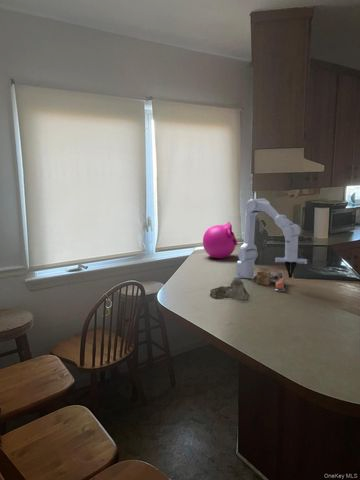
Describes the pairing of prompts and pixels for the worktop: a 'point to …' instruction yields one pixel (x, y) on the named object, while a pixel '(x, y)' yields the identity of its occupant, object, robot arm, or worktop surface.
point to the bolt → (276, 276)
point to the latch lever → (280, 284)
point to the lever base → (279, 290)
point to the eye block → (263, 276)
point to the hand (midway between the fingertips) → (290, 277)
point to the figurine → (219, 241)
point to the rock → (230, 291)
